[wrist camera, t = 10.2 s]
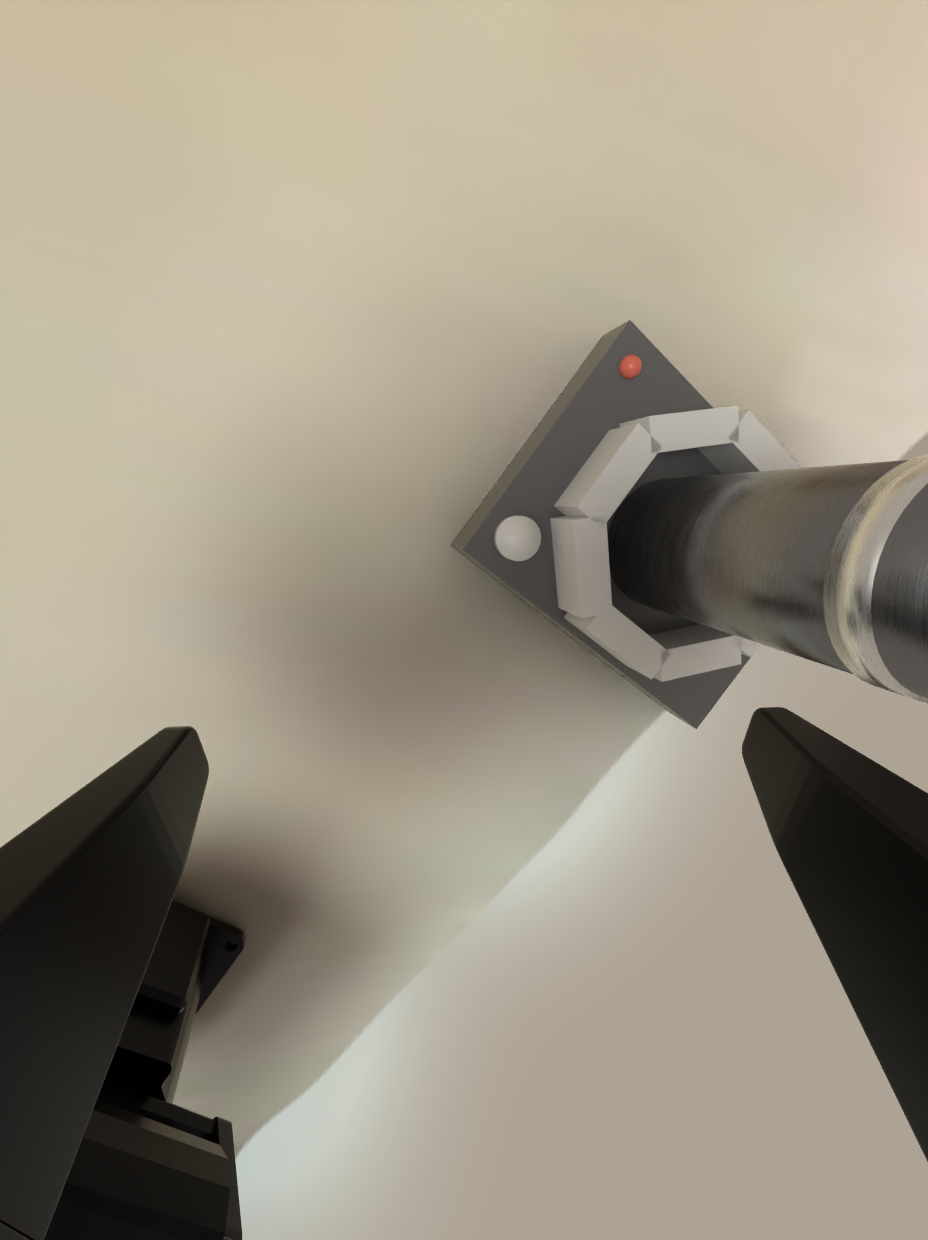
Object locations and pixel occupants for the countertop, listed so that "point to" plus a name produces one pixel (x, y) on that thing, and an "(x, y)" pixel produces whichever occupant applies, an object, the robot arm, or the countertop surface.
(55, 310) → the countertop surface
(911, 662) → the lens
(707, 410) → the camera body
